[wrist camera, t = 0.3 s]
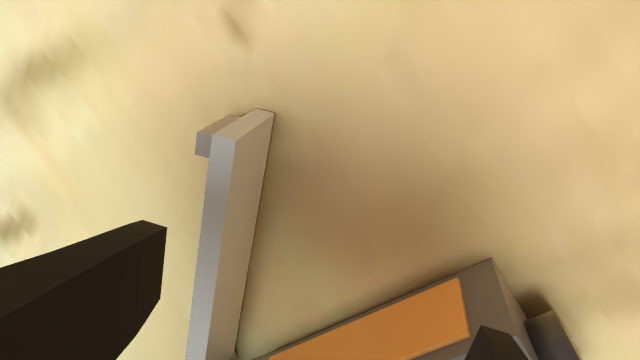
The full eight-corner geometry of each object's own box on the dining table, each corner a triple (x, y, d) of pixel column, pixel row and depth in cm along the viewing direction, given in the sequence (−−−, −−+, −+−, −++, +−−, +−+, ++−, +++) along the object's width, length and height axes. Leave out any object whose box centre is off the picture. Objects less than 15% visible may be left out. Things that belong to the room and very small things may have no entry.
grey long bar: (235, 367, 23) (198, 441, 19) (202, 357, 24) (159, 428, 20) (279, 114, 18) (241, 142, 14) (237, 103, 19) (188, 128, 15)
